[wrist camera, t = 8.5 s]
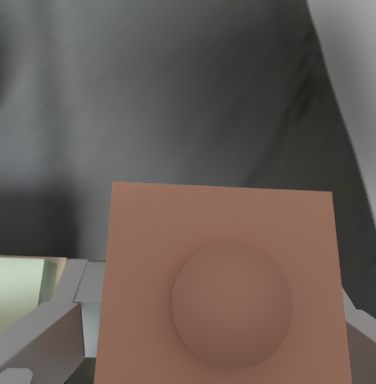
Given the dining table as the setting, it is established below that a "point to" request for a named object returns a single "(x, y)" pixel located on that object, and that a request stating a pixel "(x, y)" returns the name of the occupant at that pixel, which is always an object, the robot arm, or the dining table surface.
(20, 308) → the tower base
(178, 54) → the dining table surface
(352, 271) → the dining table surface
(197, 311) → the brick
